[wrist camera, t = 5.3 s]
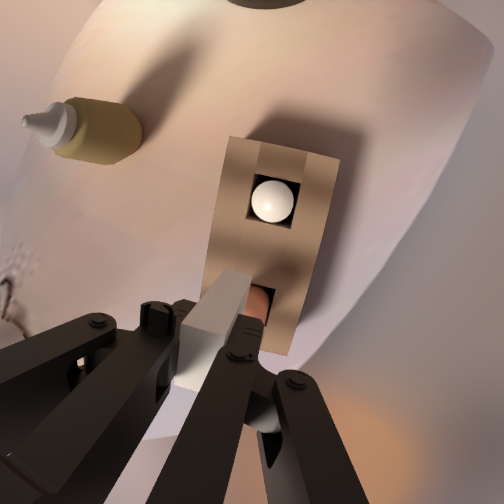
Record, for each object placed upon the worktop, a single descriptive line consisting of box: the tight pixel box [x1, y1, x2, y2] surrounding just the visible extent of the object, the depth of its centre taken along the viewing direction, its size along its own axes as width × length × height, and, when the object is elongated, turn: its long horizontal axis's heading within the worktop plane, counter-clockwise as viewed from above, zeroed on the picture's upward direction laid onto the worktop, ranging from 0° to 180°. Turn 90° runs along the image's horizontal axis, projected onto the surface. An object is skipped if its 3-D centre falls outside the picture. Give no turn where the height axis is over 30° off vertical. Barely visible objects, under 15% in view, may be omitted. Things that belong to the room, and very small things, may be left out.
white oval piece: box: [252, 181, 294, 222], centre depth 31 cm, size 4×4×6 cm
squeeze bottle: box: [21, 97, 143, 165], centre depth 26 cm, size 8×8×18 cm
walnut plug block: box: [200, 136, 340, 356], centre depth 32 cm, size 22×11×6 cm, turn 168°
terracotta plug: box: [244, 283, 270, 325], centre depth 29 cm, size 4×4×6 cm
